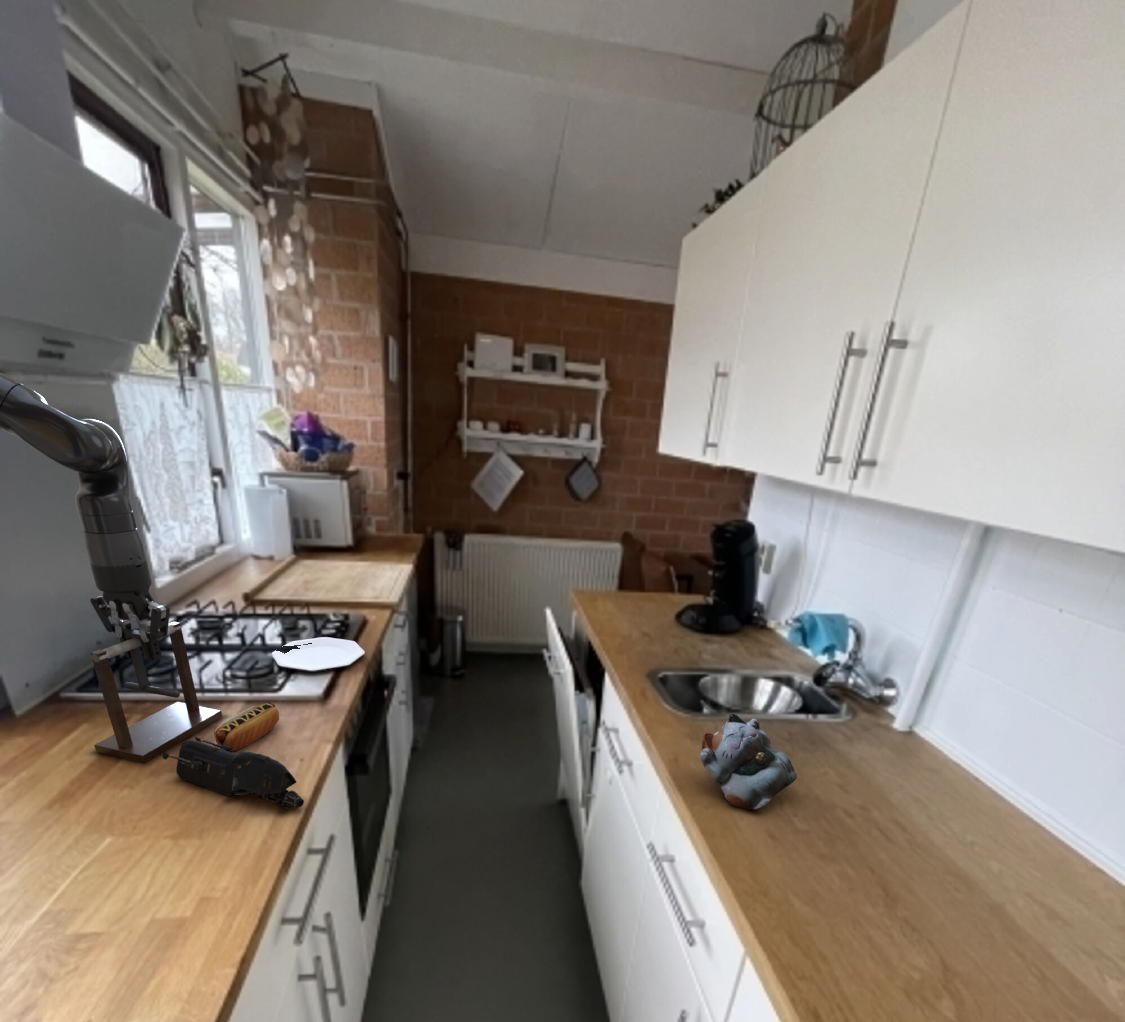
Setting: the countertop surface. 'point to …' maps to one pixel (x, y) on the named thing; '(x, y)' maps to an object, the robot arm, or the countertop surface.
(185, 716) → the rail stand
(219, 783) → the black toy vehicle
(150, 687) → the hanger
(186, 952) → the countertop surface
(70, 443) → the robot arm
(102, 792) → the countertop surface
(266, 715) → the hot dog
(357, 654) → the plate
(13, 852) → the countertop surface
